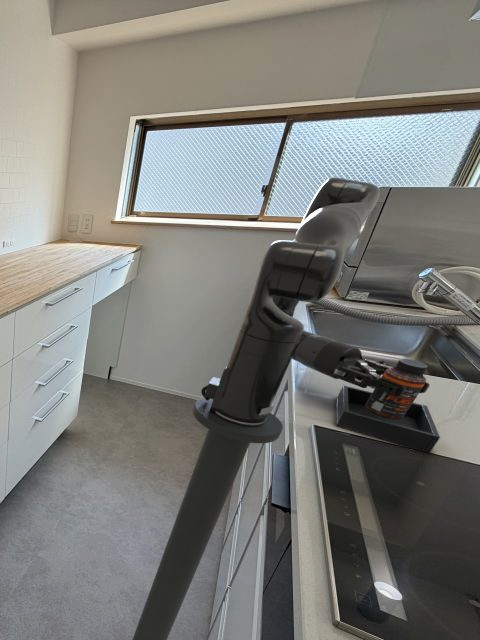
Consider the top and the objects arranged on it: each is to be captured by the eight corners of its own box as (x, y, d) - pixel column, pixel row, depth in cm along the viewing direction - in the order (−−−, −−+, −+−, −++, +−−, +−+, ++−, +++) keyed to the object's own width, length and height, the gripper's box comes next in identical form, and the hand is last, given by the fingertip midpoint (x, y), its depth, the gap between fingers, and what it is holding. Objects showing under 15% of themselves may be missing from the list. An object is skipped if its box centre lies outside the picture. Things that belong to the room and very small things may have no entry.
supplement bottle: (376, 418, 82) (406, 367, 76) (357, 403, 87) (384, 354, 82) (410, 422, 81) (443, 370, 76) (389, 407, 86) (418, 358, 81)
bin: (336, 425, 83) (343, 410, 81) (336, 398, 94) (343, 385, 92) (429, 453, 76) (440, 437, 74) (418, 420, 86) (427, 405, 85)
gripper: (309, 342, 89) (399, 376, 75) (357, 338, 93) (451, 369, 79) (295, 373, 93) (378, 411, 79) (341, 368, 97) (429, 403, 82)
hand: (414, 390), depth 79 cm, fingers closed on supplement bottle, 6 cm apart
